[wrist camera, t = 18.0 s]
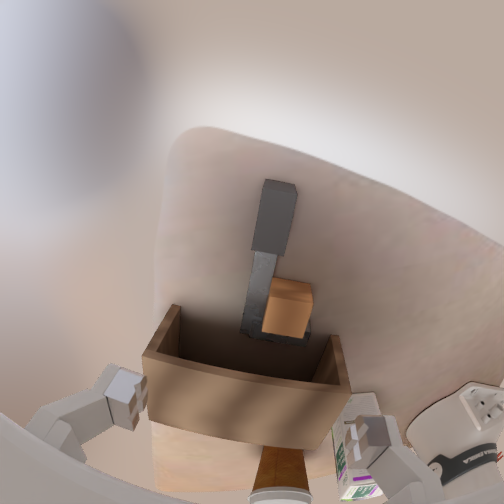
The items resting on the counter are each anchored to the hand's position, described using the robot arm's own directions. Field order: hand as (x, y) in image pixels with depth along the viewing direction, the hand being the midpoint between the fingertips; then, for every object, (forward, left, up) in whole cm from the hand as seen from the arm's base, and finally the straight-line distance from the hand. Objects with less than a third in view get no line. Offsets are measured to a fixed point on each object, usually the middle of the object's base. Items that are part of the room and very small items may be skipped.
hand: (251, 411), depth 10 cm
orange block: (-3, +6, -20) cm, 21 cm away
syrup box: (-16, +22, -20) cm, 34 cm away
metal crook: (-2, +3, -20) cm, 20 cm away
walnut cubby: (0, +15, -20) cm, 25 cm away
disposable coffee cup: (-9, +35, -20) cm, 41 cm away
